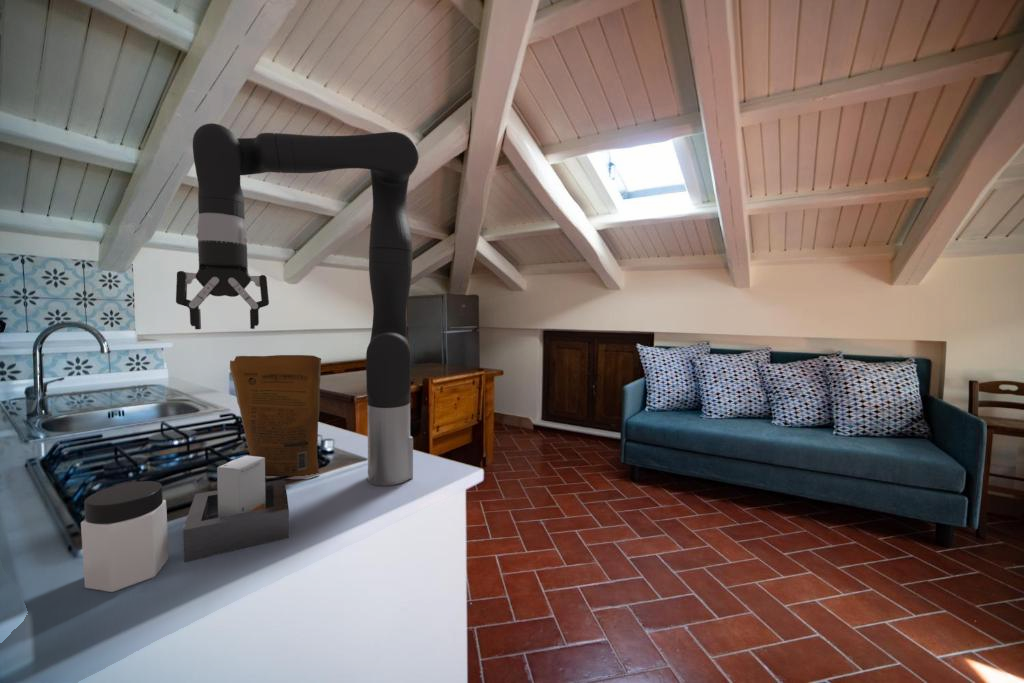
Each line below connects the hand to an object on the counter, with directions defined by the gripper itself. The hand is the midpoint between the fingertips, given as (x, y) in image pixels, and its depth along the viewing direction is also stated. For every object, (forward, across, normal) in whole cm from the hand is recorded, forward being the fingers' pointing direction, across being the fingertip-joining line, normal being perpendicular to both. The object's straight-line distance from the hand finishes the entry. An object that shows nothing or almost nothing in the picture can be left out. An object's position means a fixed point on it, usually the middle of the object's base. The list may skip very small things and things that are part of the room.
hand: (225, 328), depth 79 cm
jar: (+34, +11, +18) cm, 41 cm away
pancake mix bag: (+34, -9, -10) cm, 37 cm away
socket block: (+34, -2, +12) cm, 36 cm away
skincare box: (+34, -2, +12) cm, 36 cm away
